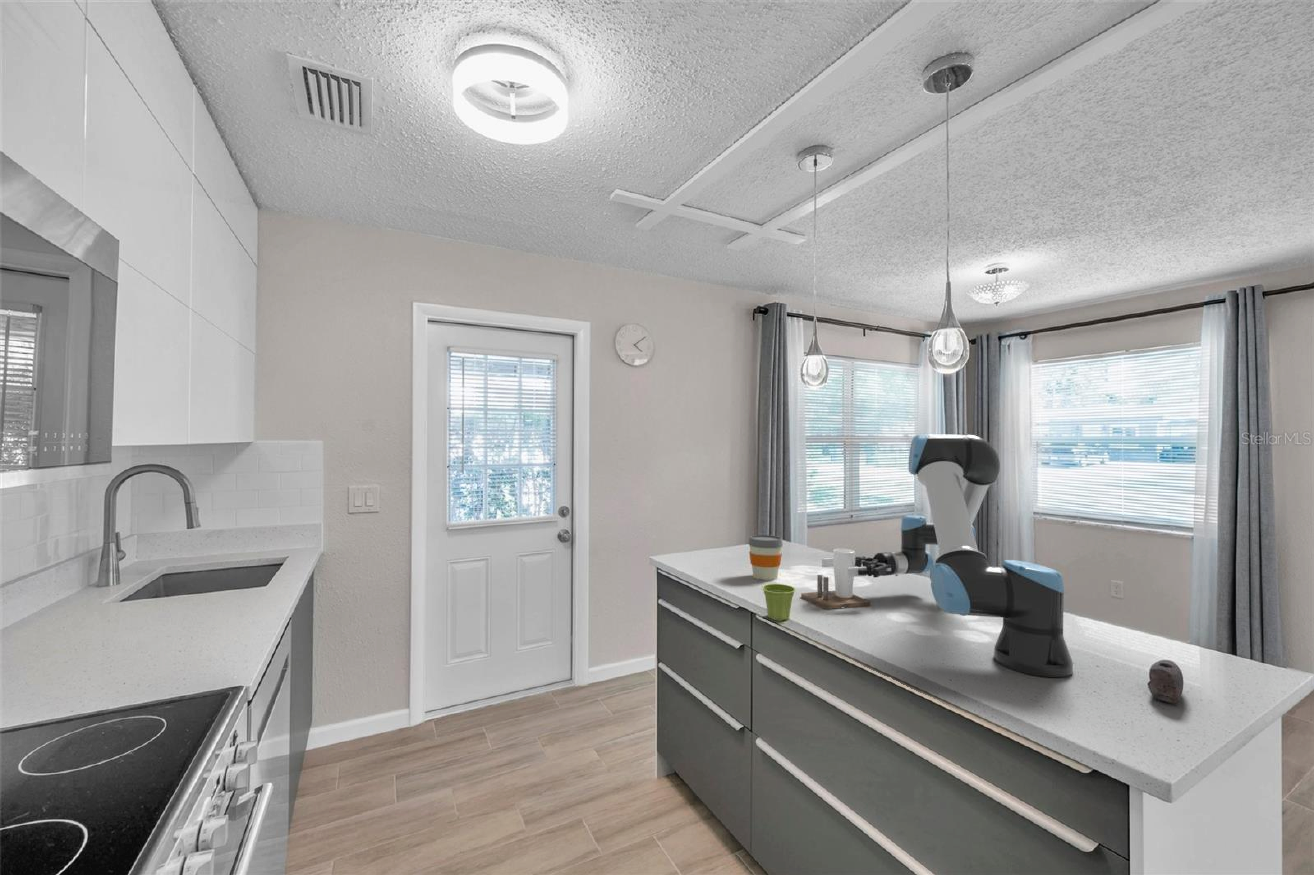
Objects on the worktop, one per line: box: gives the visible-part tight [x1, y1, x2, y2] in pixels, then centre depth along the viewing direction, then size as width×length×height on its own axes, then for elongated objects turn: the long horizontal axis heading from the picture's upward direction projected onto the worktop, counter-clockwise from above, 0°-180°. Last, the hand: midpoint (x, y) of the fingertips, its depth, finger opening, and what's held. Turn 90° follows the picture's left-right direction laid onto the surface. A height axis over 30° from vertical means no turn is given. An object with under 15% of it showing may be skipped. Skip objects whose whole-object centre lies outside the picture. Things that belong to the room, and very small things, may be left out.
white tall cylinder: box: [832, 548, 856, 599], centre depth 177 cm, size 7×7×15 cm
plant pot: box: [761, 583, 796, 622], centre depth 160 cm, size 9×9×9 cm
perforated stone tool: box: [1147, 659, 1184, 704], centre depth 113 cm, size 15×5×7 cm, turn 132°
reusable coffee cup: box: [748, 534, 783, 581], centre depth 207 cm, size 13×13×15 cm
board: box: [800, 574, 871, 610], centre depth 177 cm, size 16×14×8 cm
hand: (834, 567), depth 177 cm, fingers open, 13 cm apart
